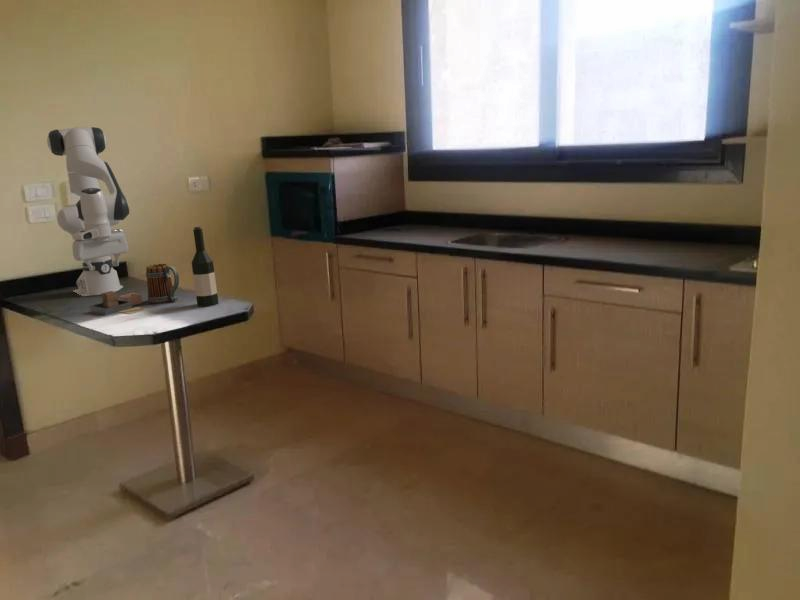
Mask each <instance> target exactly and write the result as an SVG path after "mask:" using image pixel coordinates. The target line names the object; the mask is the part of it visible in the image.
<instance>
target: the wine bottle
mask: <svg viewBox="0 0 800 600" xmlns="http://www.w3.org/2000/svg"><path fill="white" fill-rule="evenodd" d="M192 230H193V231H192V232H193V237H194V245H195V253H194V256H193V257H192V261H191V262H190V263H191V269H192V270H191V271H192V276H193V283H194V284H193V285H194V289H195V290H194V291H195V296H196V304H197V307H201V308H203V307H204V308H207V307H212V306H213V307H214V306H216V305H219V296H218V290H217V282H216V275H215V268H214V260H213V259H212V258H211V257H210V255H209V254H208V252H207V251H206V248H205V241H204V233H203V229H202V227H201V226H194V228H193V229H192Z"/></svg>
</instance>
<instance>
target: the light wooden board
mask: <svg viewBox="0 0 800 600" xmlns="http://www.w3.org/2000/svg"><path fill="white" fill-rule="evenodd" d="M147 310H149V308H144V307H138V306H136V307H132V308H131V309H127V310H123V311H119V312H118V313H120V314H126V315H132V314H135V313H140V312H145V311H147Z"/></svg>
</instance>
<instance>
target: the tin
mask: <svg viewBox="0 0 800 600" xmlns="http://www.w3.org/2000/svg"><path fill="white" fill-rule="evenodd" d="M131 308H133V305H132V302H128V301H122V300H120V299H118V305H117V306H113V307H109V308H104V307H103V302H100V303H97V304H92V305H89V309H90V310H89V311H90V313H93V314H97V315H102V316H108V315H112V314H116V313H120V312H119V311H123V310H127V309H131Z"/></svg>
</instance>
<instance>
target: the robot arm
mask: <svg viewBox="0 0 800 600" xmlns="http://www.w3.org/2000/svg"><path fill="white" fill-rule="evenodd" d="M46 143H47V147H48V149H49V151H50V152H51V154H53V155H55V156H60V157H63V156H65V159H66V160H65V162H66V171H67V178H68V184H69V188H70V191H71V192H72V193H73V194H75V195H77V196H78V197H80V198H79V200H78V201H77V202H76V203H75V205H71V206H67V207H63V208H61V209H60V210H59V211H58V213H57V216H56V221H57V224H58V226H59V227H60V229H62V231H64V232H66V233H68V234H70V235H71V237H72V240H73V242H72V256H73V258H74V260H75V261H77V262H79V261H81V262H82V261H83V262H82V263H81V264H82V270H83V271H82V272H81V274H80V275H79V277H78V278H77V280H76V282H75V283H76V284H75V285H76V286H77V289H73V290H72V291H73V292H75V293H77V294H76V295H78V294H79V295H78V296H80V295H81V296H80V297H88V296H89V297H90V296H100V295H101V293H105V292H109V291H113V292H116V293H117V292H118V291H120V290H121V289H123V288H124V286H123V284H121V283H120V280H119V279H120V278H119V276H118V272H117V270H116V269H114V267H119V266H120V264H119V262H120V259H121V254H124V253H125V254H126V253H128V251H129V244H128V242H127V239H126V237H127V236H126V232H125V231H124V230H123V229H121V228H118V229H112V228H111V227H113V226H116V225H118V224H119V223H120V221H124V220H125V219H126V218H127V217H128V215H130V204H129V202H128V200H127V199H126V196H125V194H124V193H123V190H122V188H121V187H120V184H119V183H118V180H117V178H116V177H115V173H114V172H113V170H112V168H111V167H110V165H109V164H108V162H106V161H105V160H103V159H101V158H100V157H99V154H102V153H103V152H104V151H105V150H106V146H107V137H106V135H105V133H104V131H103V130H102V129H101V128H99V127H95V126H94V127H93V126H92V127H87V126H85V127H82V126H80V127H78V126H77V127H70V128H63V129H53V130H50V131H49V132H48V135H47V138H46ZM99 181H102V182H103V183H105V184H104V185H105V186H106V188H107V191H108V193H109V195H104V192H103V190H102V189H101V187H100V184H99ZM111 256H114V258H115V259H114V261H113V259H112V258H111ZM75 293H74V294H75Z"/></svg>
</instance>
